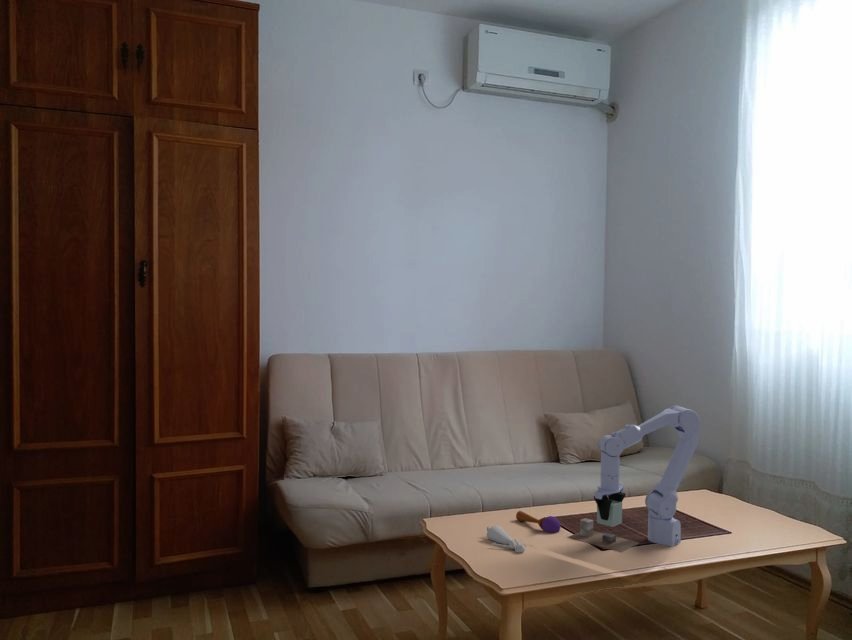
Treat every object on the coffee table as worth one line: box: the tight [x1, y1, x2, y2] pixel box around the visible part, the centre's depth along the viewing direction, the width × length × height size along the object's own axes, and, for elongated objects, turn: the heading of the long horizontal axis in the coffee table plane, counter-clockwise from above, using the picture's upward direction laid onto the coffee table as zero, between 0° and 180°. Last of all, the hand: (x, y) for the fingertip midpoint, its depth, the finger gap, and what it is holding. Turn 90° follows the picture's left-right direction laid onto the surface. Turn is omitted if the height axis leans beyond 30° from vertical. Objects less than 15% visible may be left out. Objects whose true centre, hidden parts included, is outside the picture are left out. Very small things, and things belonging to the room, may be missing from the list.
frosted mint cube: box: [596, 500, 623, 528], centre depth 220 cm, size 6×6×6 cm
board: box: [567, 517, 641, 553], centre depth 222 cm, size 19×12×6 cm, turn 46°
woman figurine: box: [486, 525, 526, 554], centre depth 221 cm, size 12×4×18 cm
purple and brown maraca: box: [515, 510, 562, 534], centre depth 237 cm, size 6×6×20 cm
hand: (609, 517), depth 220 cm, fingers closed on frosted mint cube, 6 cm apart
